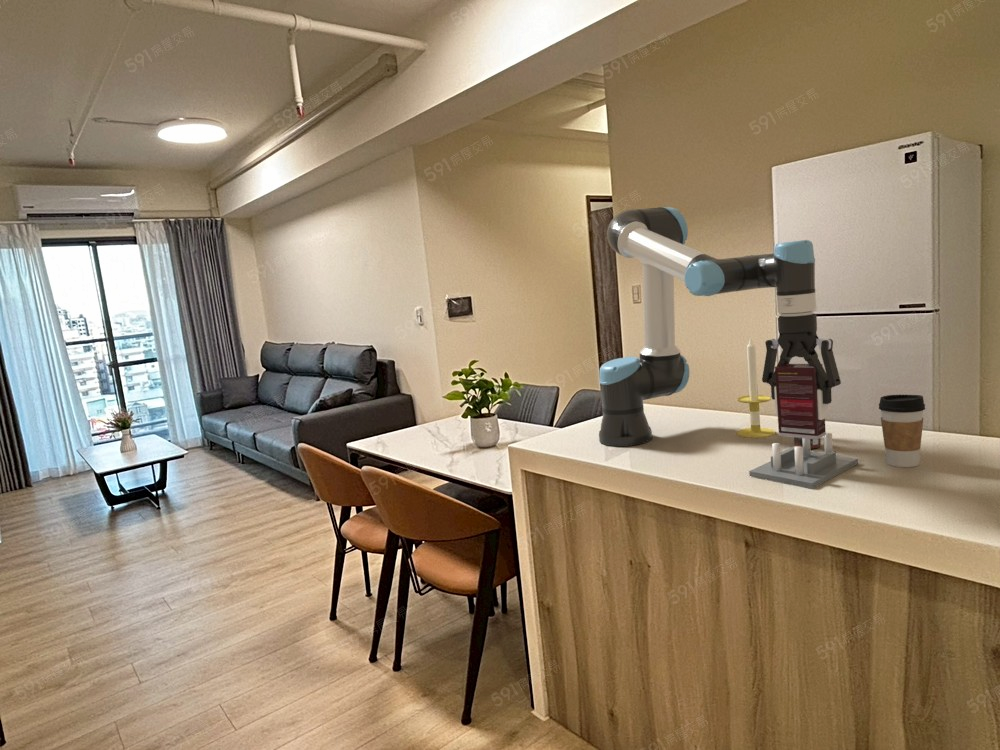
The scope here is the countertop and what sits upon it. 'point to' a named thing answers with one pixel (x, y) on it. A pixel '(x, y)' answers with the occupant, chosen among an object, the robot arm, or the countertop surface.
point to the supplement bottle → (813, 442)
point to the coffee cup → (902, 428)
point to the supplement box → (798, 402)
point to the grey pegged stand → (804, 465)
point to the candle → (754, 400)
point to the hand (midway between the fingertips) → (801, 415)
